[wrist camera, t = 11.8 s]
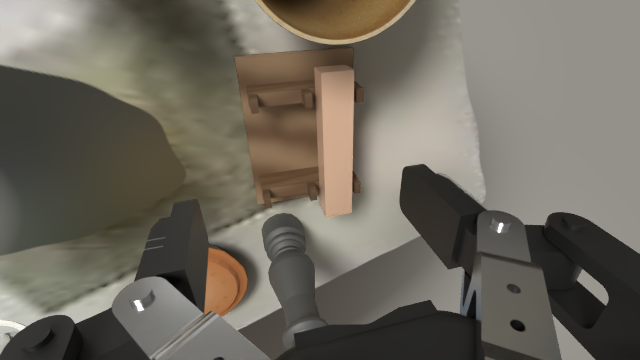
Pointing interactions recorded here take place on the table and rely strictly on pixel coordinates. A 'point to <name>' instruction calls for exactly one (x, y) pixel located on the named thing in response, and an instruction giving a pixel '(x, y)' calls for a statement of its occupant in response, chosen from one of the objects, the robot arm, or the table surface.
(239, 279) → the pie
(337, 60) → the rack
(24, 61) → the table surface
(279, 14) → the plant pot
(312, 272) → the candle holder
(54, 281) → the table surface
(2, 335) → the teacup and saucer
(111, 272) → the table surface
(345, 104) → the strip
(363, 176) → the table surface
